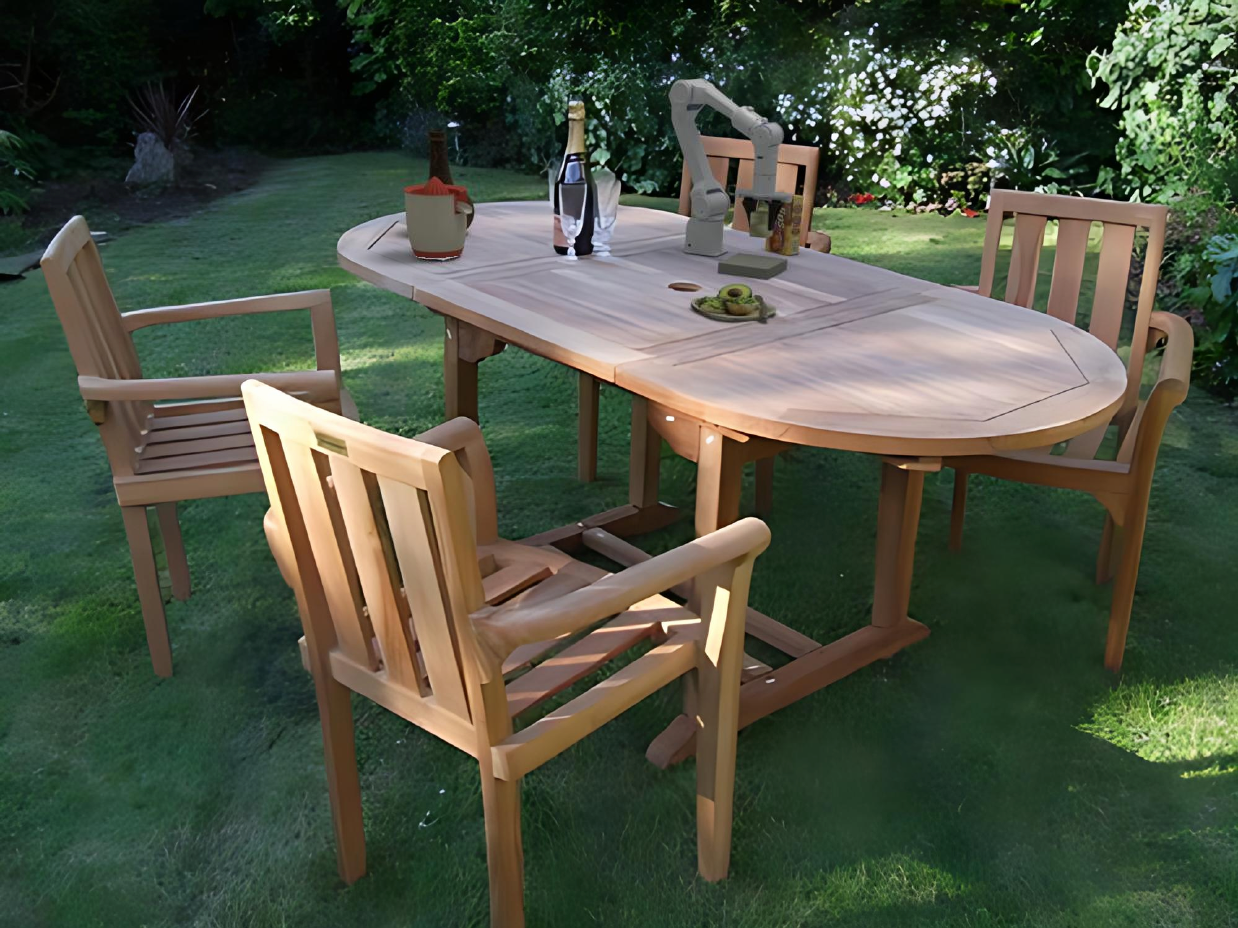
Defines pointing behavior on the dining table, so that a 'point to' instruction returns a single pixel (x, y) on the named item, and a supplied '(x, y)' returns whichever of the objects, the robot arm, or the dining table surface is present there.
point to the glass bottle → (443, 164)
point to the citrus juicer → (436, 219)
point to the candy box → (787, 228)
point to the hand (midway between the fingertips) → (761, 229)
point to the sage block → (759, 224)
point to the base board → (752, 266)
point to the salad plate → (734, 305)
